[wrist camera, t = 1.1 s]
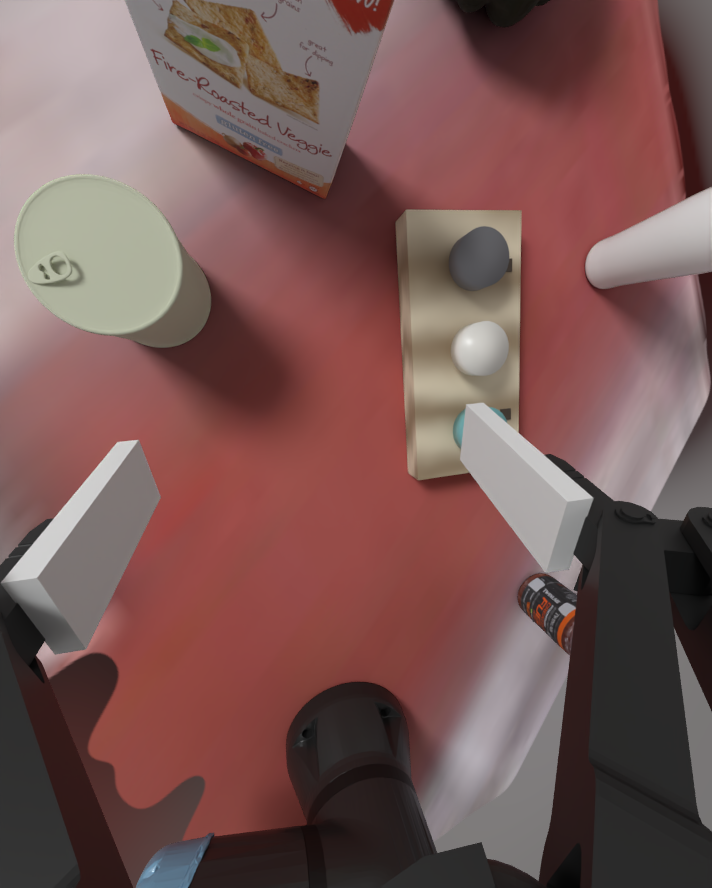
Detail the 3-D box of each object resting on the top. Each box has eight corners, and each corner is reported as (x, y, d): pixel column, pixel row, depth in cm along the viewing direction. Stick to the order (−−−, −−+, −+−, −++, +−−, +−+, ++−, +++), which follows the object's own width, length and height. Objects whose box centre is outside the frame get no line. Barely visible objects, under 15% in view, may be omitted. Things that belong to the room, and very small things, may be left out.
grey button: (496, 290, 36) (509, 285, 34) (449, 292, 35) (459, 287, 33) (496, 234, 35) (509, 226, 33) (447, 234, 34) (458, 226, 32)
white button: (496, 373, 38) (508, 373, 36) (451, 377, 37) (461, 377, 35) (496, 322, 37) (508, 319, 35) (450, 325, 36) (460, 322, 34)
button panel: (502, 459, 45) (519, 465, 42) (408, 472, 42) (418, 480, 39) (502, 222, 39) (522, 209, 36) (395, 222, 37) (406, 208, 34)
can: (78, 257, 32) (-30, 193, 20) (184, 226, 33) (138, 148, 22) (130, 361, 34) (60, 356, 23) (227, 328, 35) (207, 307, 24)
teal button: (496, 449, 39) (508, 453, 38) (453, 455, 38) (462, 460, 37) (496, 402, 38) (508, 404, 37) (451, 407, 37) (461, 409, 36)
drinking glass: (588, 307, 43) (744, 275, 29) (568, 251, 42) (725, 188, 27) (632, 279, 44) (807, 234, 30) (615, 222, 42) (793, 145, 28)
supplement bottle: (514, 576, 48) (585, 635, 38) (554, 566, 50) (633, 621, 39) (515, 616, 50) (583, 684, 39) (553, 606, 51) (630, 669, 40)
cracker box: (170, 129, 32) (-3, -293, 12) (191, 55, 31) (45, -529, 11) (325, 206, 35) (398, -11, 15) (346, 141, 35) (451, -174, 15)
